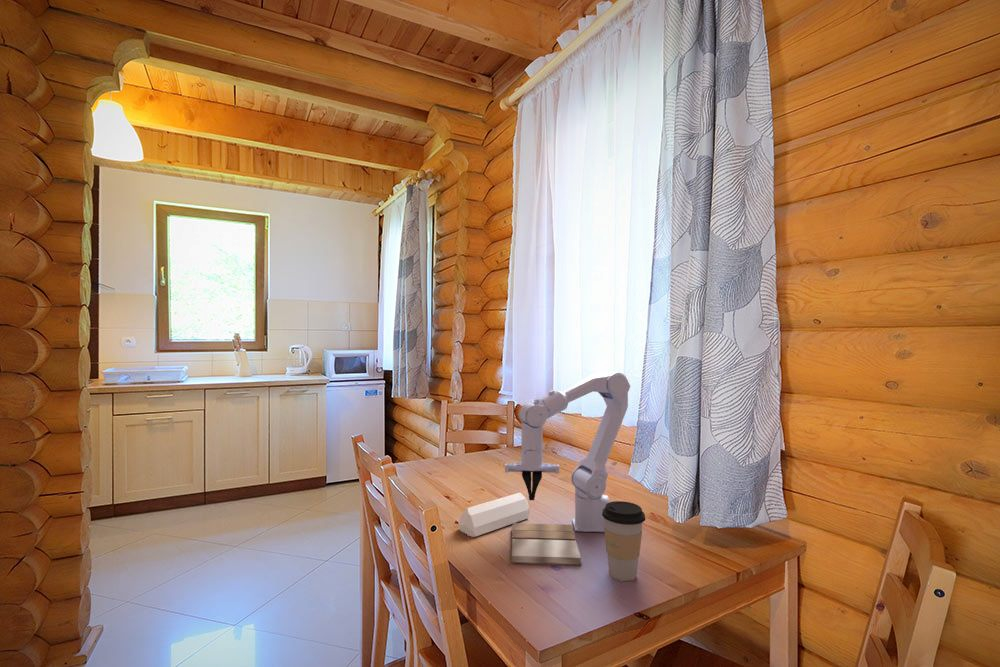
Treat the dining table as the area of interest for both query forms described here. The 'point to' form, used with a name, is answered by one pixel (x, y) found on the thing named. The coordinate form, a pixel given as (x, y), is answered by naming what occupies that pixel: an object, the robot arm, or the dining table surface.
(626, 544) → the coffee cup
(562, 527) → the walnut boards
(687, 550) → the dining table surface
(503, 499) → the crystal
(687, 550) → the dining table surface
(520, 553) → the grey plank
